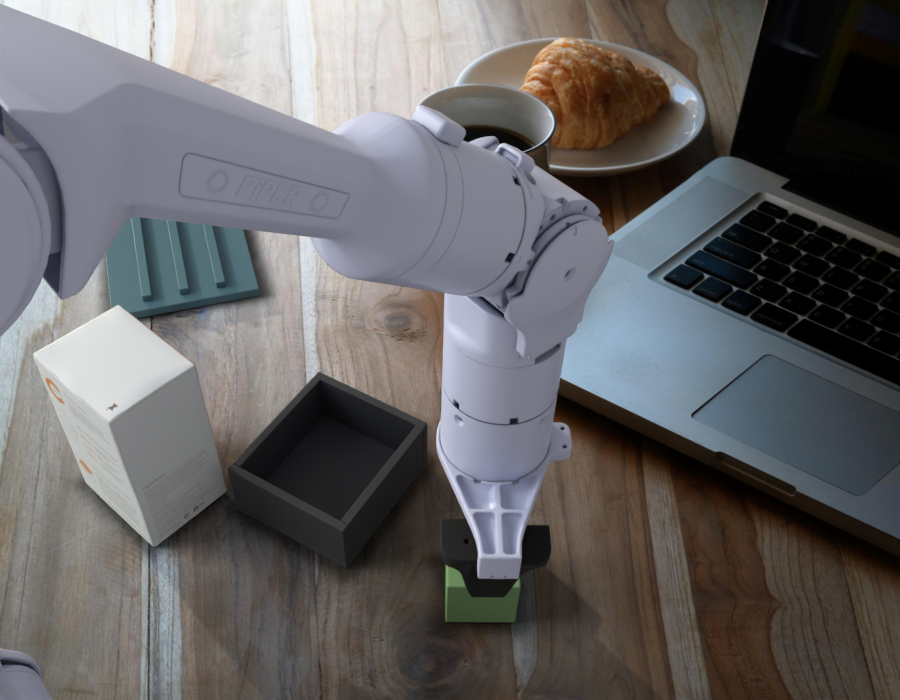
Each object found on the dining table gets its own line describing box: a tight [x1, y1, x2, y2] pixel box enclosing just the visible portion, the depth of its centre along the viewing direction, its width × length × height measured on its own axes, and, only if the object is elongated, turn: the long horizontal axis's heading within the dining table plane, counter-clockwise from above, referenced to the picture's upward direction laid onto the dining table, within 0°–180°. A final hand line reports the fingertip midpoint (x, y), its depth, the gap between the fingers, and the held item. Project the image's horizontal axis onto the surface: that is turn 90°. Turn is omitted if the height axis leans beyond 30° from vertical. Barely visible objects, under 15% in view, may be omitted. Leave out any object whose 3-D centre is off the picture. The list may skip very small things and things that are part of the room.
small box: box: [32, 305, 228, 548], centre depth 60 cm, size 8×6×13 cm
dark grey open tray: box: [226, 371, 429, 570], centre depth 64 cm, size 10×9×4 cm
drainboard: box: [104, 217, 261, 319], centre depth 83 cm, size 20×12×1 cm, turn 18°
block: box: [444, 564, 522, 624], centre depth 58 cm, size 4×4×4 cm
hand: (485, 533), depth 55 cm, fingers open, 7 cm apart
